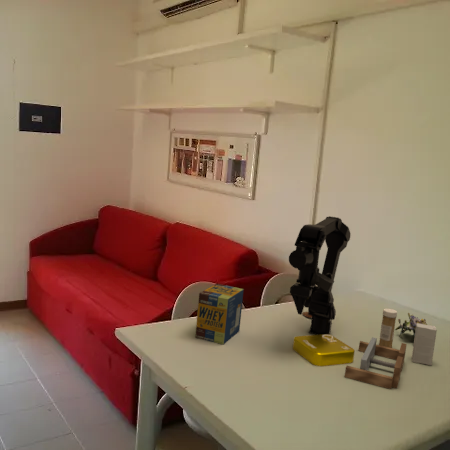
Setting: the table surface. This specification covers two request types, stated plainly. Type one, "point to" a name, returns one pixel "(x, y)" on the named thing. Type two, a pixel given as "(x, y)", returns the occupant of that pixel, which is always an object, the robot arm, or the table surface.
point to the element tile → (323, 350)
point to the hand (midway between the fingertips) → (303, 310)
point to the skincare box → (424, 344)
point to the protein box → (219, 313)
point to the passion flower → (410, 324)
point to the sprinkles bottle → (387, 327)
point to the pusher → (369, 355)
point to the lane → (376, 377)
